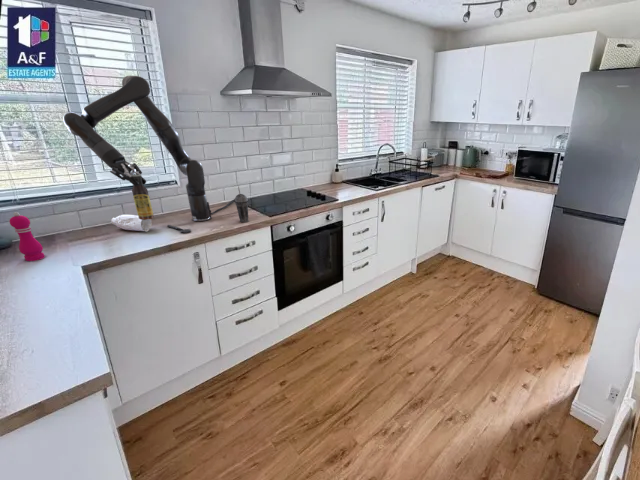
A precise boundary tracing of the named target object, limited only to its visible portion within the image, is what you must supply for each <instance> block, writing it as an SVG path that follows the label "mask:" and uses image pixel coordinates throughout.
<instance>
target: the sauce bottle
mask: <svg viewBox="0 0 640 480" xmlns="http://www.w3.org/2000/svg"><path fill="white" fill-rule="evenodd" d="M131 177H133V178H134V179H135V180H136V181H137V182H138V183H139V185H138V186H137V187H136V186H134V185H133V184H132V185H133V186H132V190H131V192H132V198H133V201H134V206H135V210H136V213H137V215H138V216H139V219H141V220H147V219H151V220H152V219H153V218H154V211H153V206H152V203H151V198H150V195H149V191H148V188H147V187H146V186H145V184H144V185H143V182H142V177H143V176H142V174H141V175H136V174H135V175H131Z"/></svg>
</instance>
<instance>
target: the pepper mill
mask: <svg viewBox="0 0 640 480" xmlns="http://www.w3.org/2000/svg"><path fill="white" fill-rule="evenodd" d="M9 224H10V226H11V227H13V228H14V229H13V230H14V231H15V233H17V235H18V238H19V243H18V250H19V252H20V253H21V254H22V255H24V256H23V257H24V260H25V261H27V262H36V261H40V260H43V259H45V258H46V256H45V253H44V252H43V250H44V247H43V245H42V244H41V242H39V241H38V240H37V239H36V238H35V237H34V235H33V233H32V231H33V230H32V227H31V226H30V225H31V220H30V219H29V218H28V217H27V216H25V215H21V214H20V212H18V211H15V212H13V216H12V217H10V218H9Z"/></svg>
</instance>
